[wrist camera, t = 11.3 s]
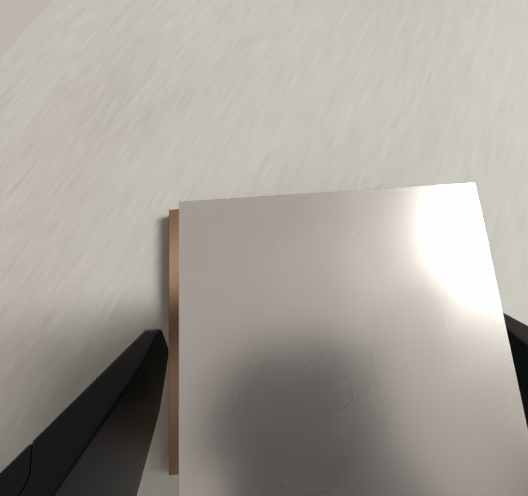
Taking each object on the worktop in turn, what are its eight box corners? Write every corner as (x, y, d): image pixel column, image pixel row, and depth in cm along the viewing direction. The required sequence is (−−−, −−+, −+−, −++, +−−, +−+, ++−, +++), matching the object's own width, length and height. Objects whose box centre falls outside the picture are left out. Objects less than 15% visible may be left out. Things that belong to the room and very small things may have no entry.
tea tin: (346, 369, 16) (548, 530, 4) (248, 374, 16) (179, 546, 4) (336, 271, 17) (475, 182, 5) (244, 276, 17) (179, 201, 5)
